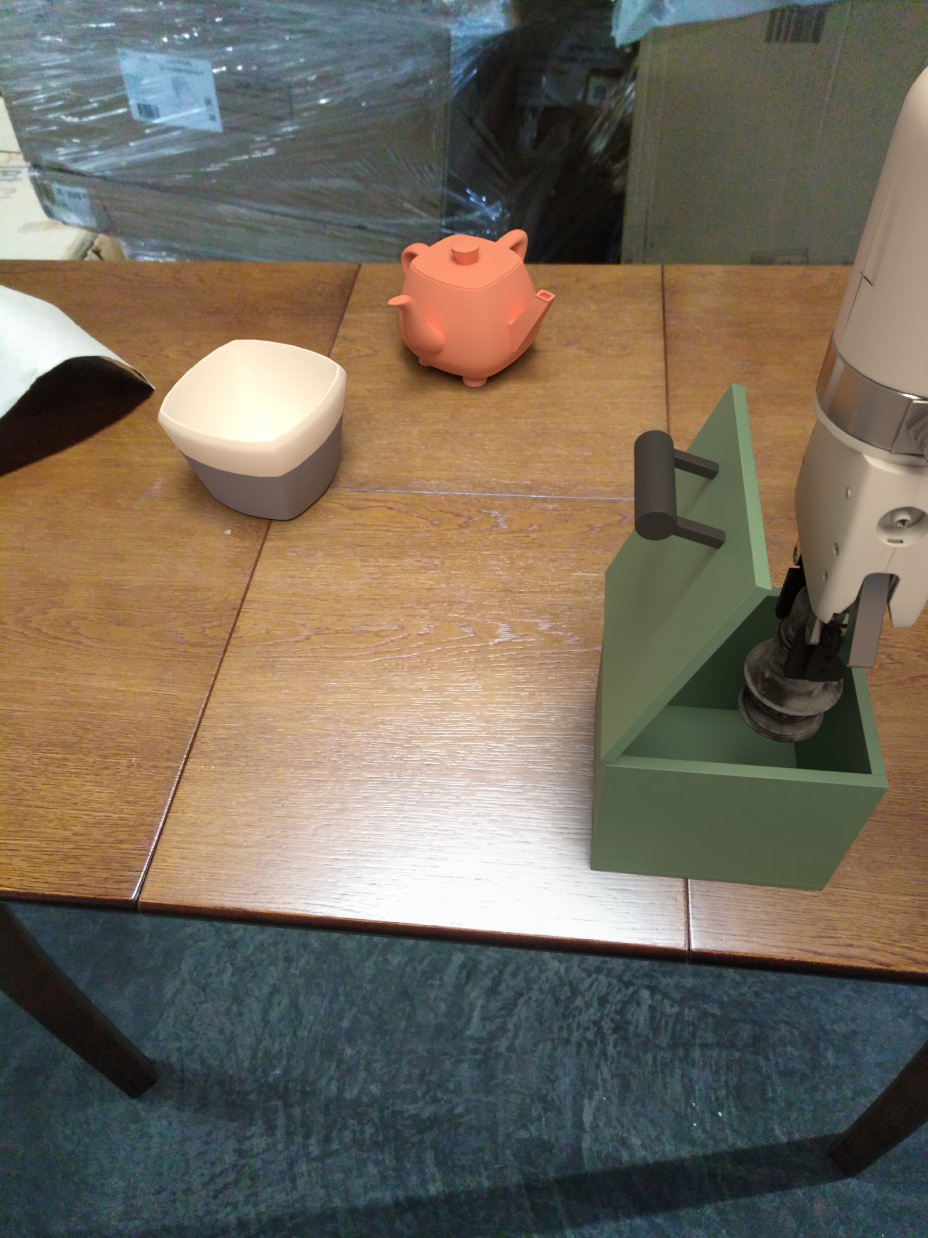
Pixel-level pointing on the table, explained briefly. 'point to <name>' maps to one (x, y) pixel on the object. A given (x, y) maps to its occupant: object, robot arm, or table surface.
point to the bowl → (260, 425)
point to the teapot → (469, 304)
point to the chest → (737, 782)
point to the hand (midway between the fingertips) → (806, 644)
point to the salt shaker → (785, 684)
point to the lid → (681, 567)
